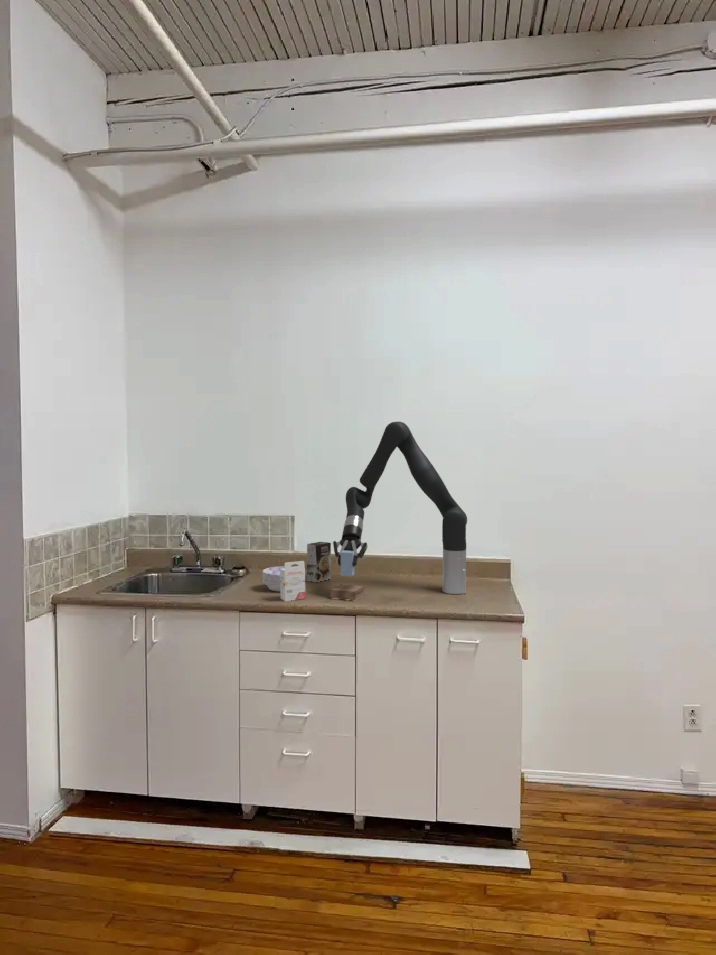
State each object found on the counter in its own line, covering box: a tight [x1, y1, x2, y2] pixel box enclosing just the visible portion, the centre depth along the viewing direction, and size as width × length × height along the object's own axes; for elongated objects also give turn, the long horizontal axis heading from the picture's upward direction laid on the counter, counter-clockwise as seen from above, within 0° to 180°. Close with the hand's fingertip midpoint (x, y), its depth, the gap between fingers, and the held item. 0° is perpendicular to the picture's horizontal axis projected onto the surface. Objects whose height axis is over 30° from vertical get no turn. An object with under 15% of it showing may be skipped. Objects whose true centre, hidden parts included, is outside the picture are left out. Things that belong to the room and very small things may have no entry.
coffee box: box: [306, 541, 332, 583], centre depth 288 cm, size 9×6×16 cm
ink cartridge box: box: [279, 560, 306, 602], centre depth 255 cm, size 9×5×15 cm, turn 117°
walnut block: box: [330, 583, 365, 601], centre depth 259 cm, size 10×10×4 cm
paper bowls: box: [261, 565, 285, 592], centre depth 272 cm, size 15×15×8 cm
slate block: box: [340, 550, 356, 577], centre depth 258 cm, size 5×5×9 cm
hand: (346, 565), depth 256 cm, fingers closed on slate block, 4 cm apart
